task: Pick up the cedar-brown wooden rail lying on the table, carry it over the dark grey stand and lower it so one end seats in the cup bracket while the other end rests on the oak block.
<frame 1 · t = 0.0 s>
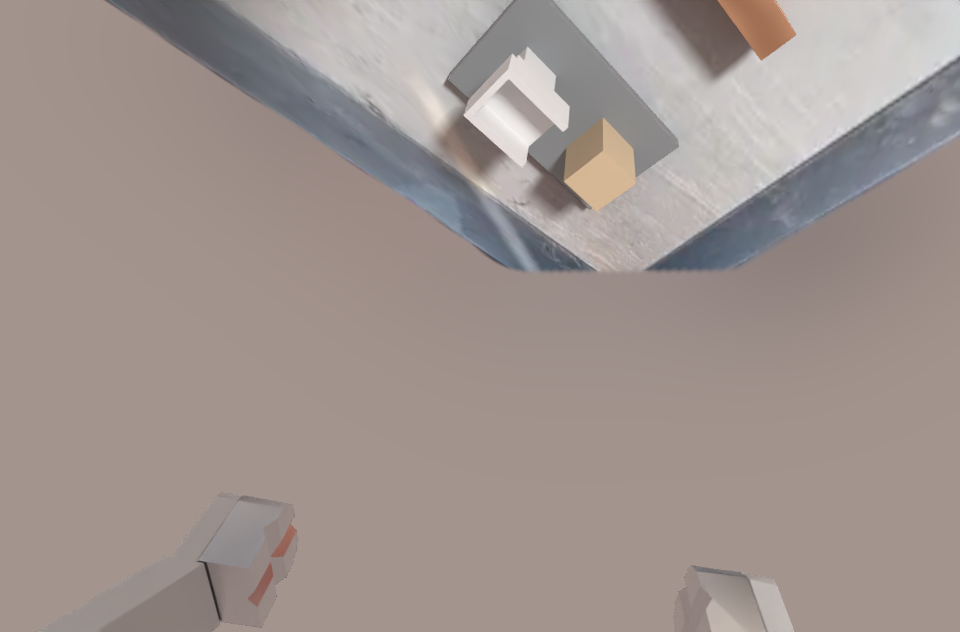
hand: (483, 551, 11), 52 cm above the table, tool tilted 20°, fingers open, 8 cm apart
rail stand: (565, 106, 58), on the table
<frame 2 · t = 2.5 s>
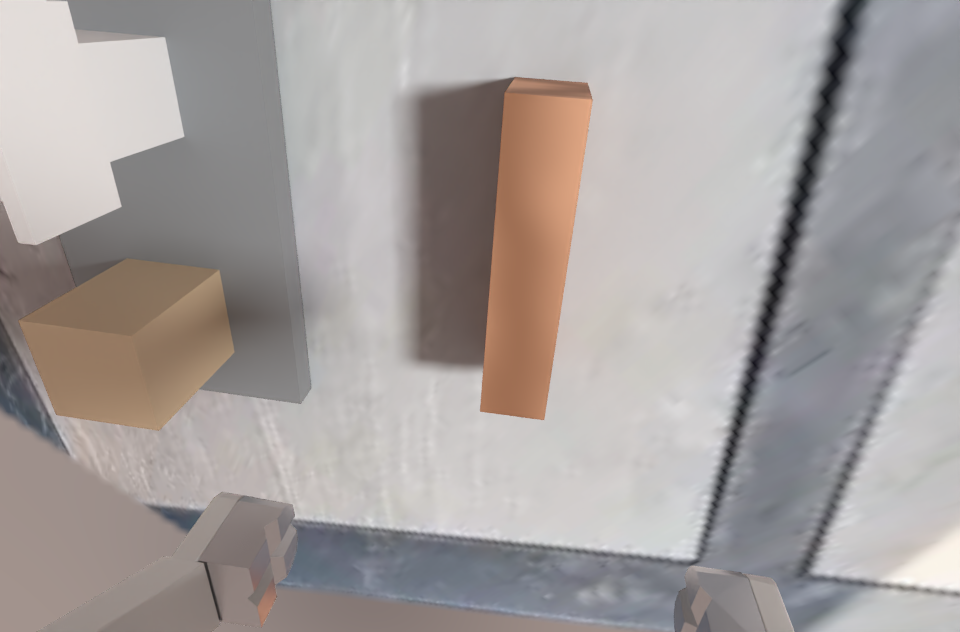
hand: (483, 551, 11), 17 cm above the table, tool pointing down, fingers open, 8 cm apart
rail: (533, 236, 27), on the table
rail stand: (178, 198, 28), on the table
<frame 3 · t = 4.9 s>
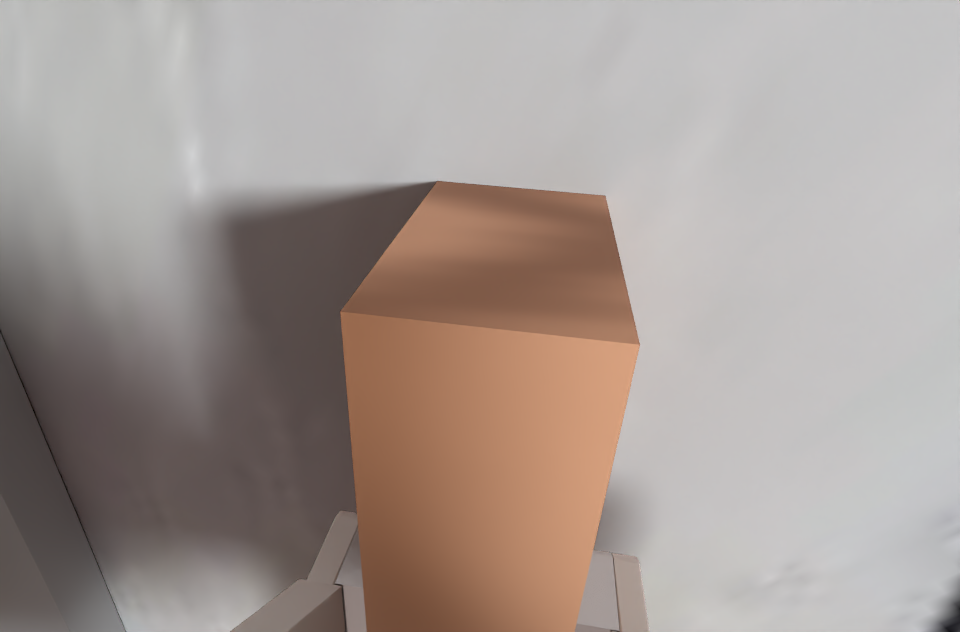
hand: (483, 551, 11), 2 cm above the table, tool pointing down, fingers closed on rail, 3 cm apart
rail: (494, 475, 13), on the table, touching gripper
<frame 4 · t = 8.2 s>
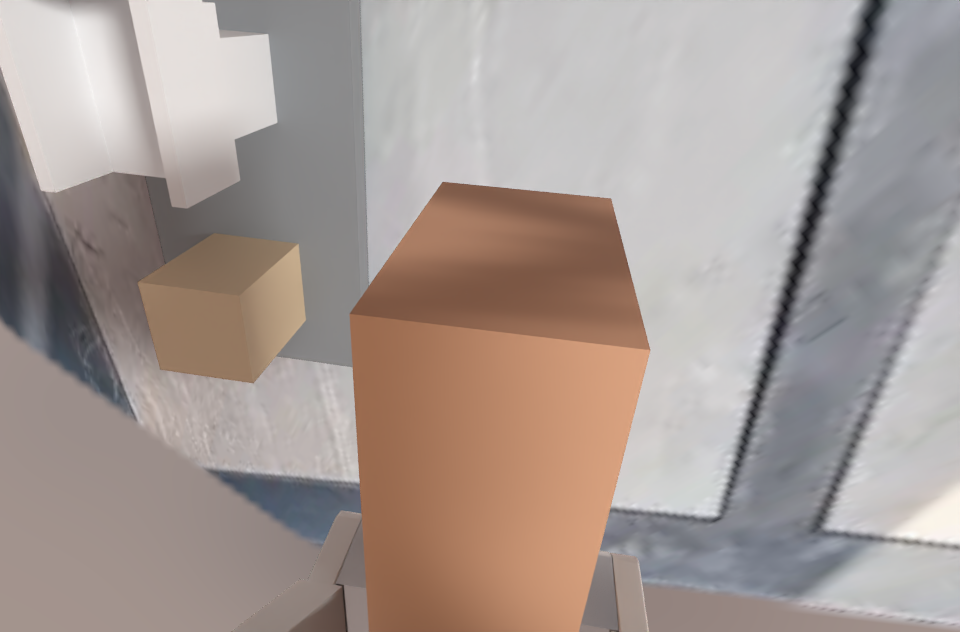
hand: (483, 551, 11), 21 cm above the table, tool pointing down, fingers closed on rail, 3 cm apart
rail: (495, 476, 13), point 19 cm above the table, touching gripper
rail stand: (262, 178, 31), on the table
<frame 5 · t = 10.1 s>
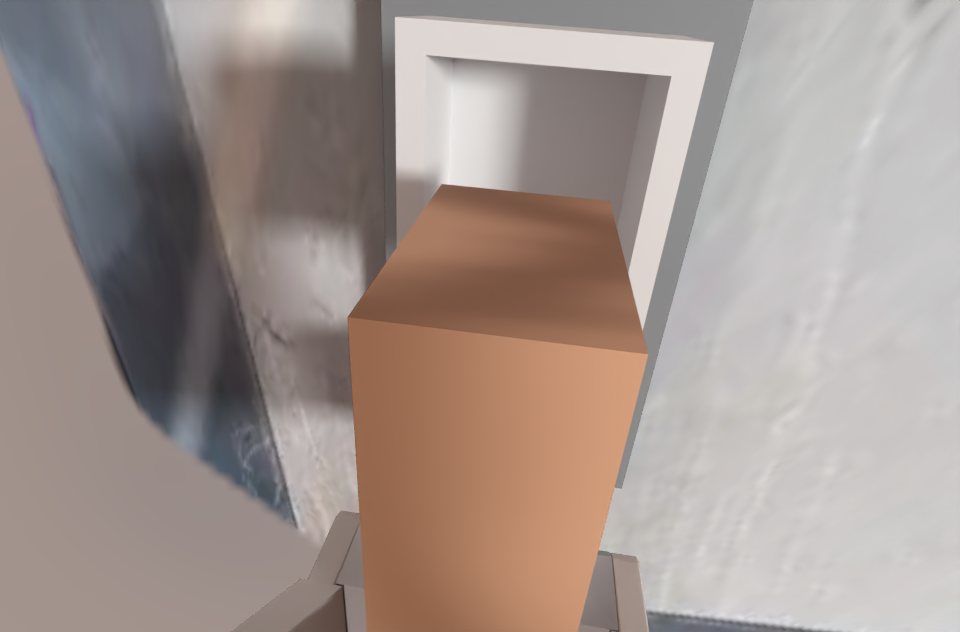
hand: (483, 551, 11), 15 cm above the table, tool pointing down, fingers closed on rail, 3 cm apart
rail: (494, 478, 13), point 13 cm above the table, touching gripper
rail stand: (528, 262, 24), on the table
when the fingers open (11 cm above the table, at t = 11.5 s): rail stays where it is, resting on rail stand.
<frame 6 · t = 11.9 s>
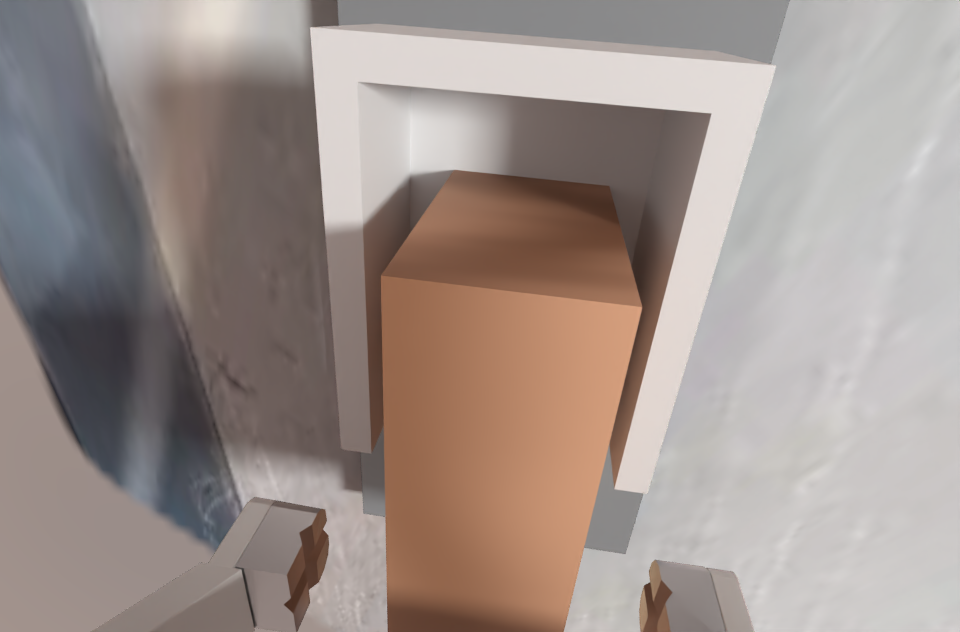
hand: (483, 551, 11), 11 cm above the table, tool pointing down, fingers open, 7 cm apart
rail: (499, 450, 14), point 8 cm above the table, touching rail stand
rail stand: (518, 305, 21), on the table
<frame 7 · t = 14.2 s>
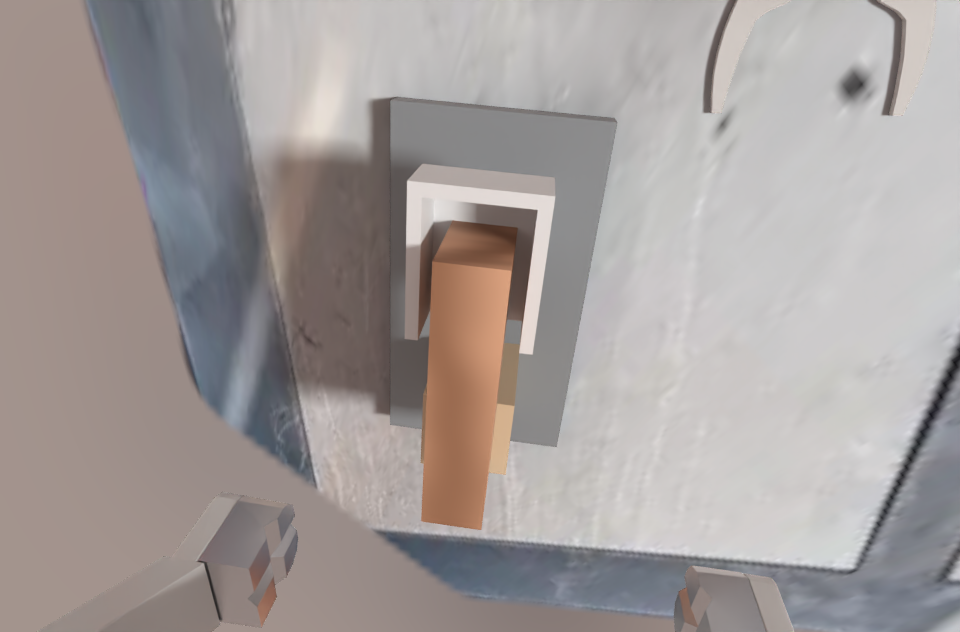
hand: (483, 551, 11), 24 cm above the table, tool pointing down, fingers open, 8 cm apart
rail: (473, 353, 28), point 8 cm above the table, touching rail stand
rail stand: (487, 288, 35), on the table
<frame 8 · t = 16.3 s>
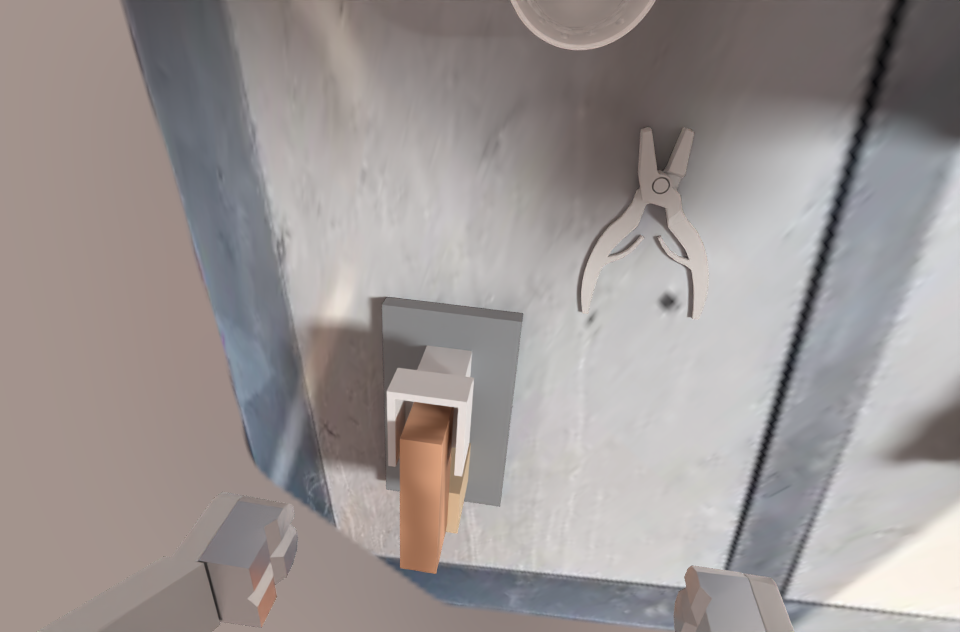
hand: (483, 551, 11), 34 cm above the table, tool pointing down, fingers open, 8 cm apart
rail: (432, 464, 46), point 8 cm above the table, touching rail stand
pliers: (650, 226, 43), on the table
rail stand: (449, 405, 53), on the table
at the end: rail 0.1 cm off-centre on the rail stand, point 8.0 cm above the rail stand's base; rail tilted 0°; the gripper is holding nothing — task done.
